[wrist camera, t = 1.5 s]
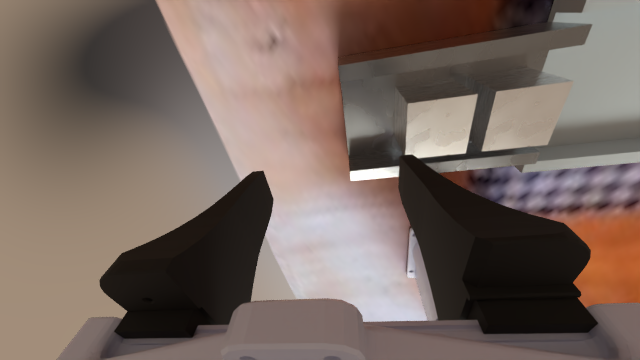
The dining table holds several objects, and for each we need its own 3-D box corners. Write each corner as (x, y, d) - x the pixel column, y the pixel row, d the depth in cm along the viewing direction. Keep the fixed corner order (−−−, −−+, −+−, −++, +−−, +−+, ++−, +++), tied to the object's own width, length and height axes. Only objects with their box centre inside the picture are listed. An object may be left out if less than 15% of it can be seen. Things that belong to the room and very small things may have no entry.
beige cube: (511, 121, 19) (547, 144, 16) (457, 127, 20) (481, 151, 16) (528, 67, 17) (573, 80, 13) (466, 76, 17) (496, 91, 14)
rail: (509, 142, 21) (535, 163, 18) (349, 160, 23) (350, 181, 20) (547, 21, 16) (592, 24, 13) (338, 56, 18) (338, 65, 15)
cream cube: (444, 129, 20) (465, 153, 16) (394, 135, 20) (405, 159, 17) (451, 78, 17) (477, 94, 14) (395, 86, 18) (407, 103, 15)
